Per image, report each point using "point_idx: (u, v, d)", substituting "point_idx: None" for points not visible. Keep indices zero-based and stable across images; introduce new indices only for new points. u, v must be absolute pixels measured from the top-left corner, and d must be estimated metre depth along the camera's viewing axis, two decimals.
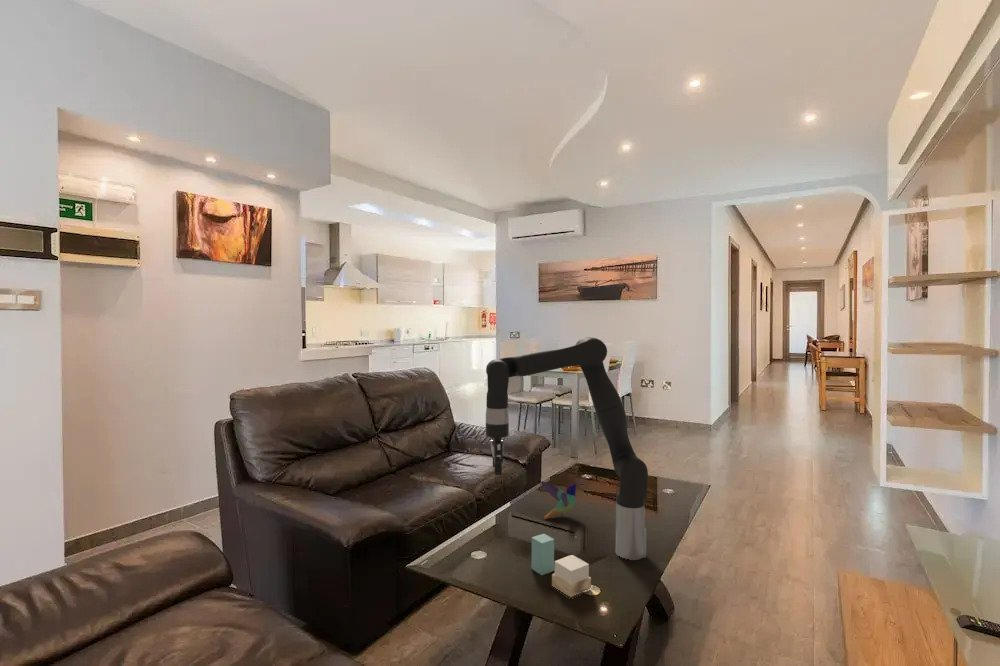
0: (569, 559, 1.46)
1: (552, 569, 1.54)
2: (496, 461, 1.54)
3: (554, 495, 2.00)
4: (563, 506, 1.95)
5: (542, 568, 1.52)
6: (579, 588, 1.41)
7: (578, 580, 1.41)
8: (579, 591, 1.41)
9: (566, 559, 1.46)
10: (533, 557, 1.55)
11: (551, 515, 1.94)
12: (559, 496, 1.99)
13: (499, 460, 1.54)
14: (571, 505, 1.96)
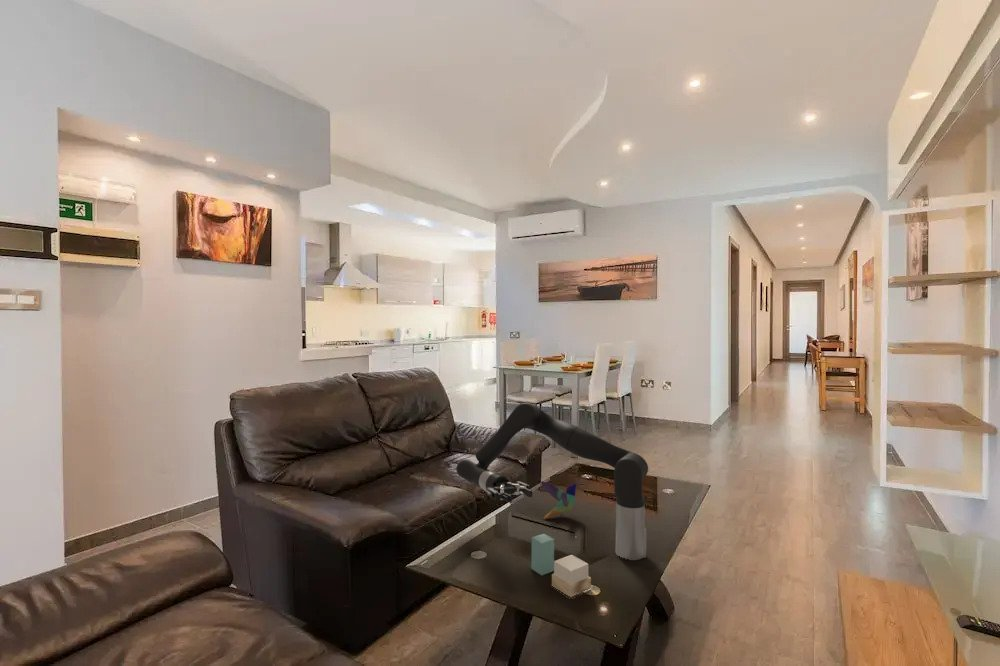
0: (569, 559, 1.46)
1: (552, 569, 1.54)
2: (495, 498, 1.64)
3: (554, 495, 2.00)
4: (563, 506, 1.95)
5: (542, 568, 1.52)
6: (579, 588, 1.41)
7: (578, 580, 1.41)
8: (579, 591, 1.41)
9: (566, 559, 1.46)
10: (533, 557, 1.55)
11: (551, 515, 1.94)
12: (559, 496, 1.99)
13: (494, 495, 1.64)
14: (571, 505, 1.96)
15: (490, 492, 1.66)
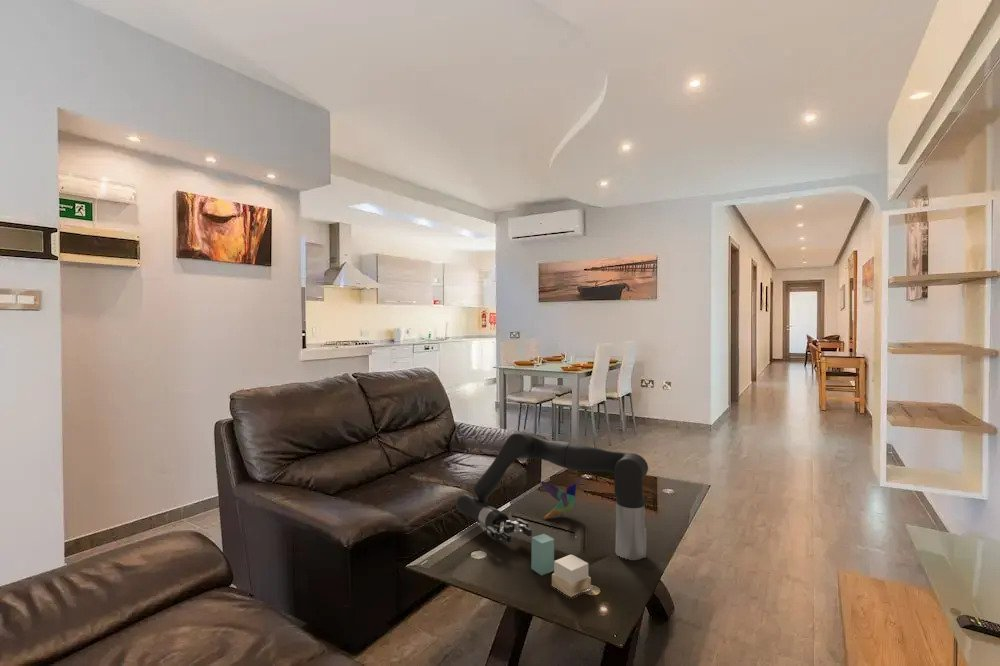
0: (569, 559, 1.46)
1: (552, 569, 1.54)
2: (494, 538, 1.64)
3: (554, 495, 2.00)
4: (563, 506, 1.95)
5: (542, 568, 1.52)
6: (579, 587, 1.41)
7: (578, 579, 1.41)
8: (579, 591, 1.41)
9: (566, 559, 1.46)
10: (533, 557, 1.55)
11: (551, 515, 1.94)
12: (559, 496, 1.99)
13: (494, 535, 1.64)
14: (571, 505, 1.96)
15: (489, 531, 1.67)
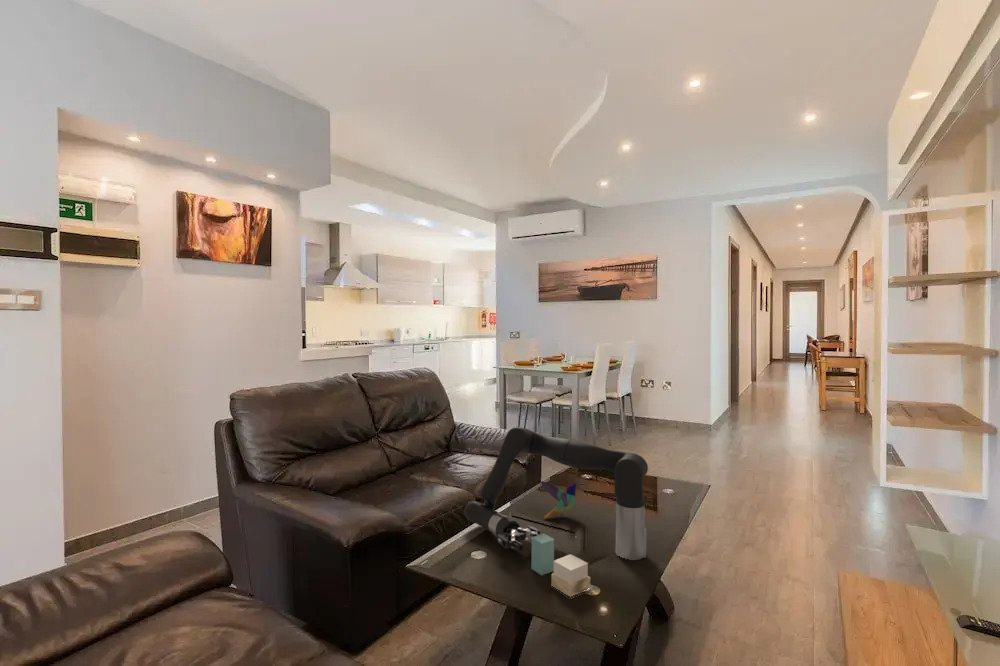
0: (568, 559, 1.46)
1: (552, 569, 1.54)
2: (506, 547, 1.59)
3: (554, 495, 2.00)
4: (563, 506, 1.95)
5: (542, 568, 1.52)
6: (579, 587, 1.41)
7: (577, 579, 1.41)
8: (579, 591, 1.41)
9: (565, 559, 1.46)
10: (533, 557, 1.55)
11: (551, 515, 1.94)
12: (559, 496, 1.99)
13: (505, 543, 1.59)
14: (571, 505, 1.96)
15: (501, 539, 1.62)
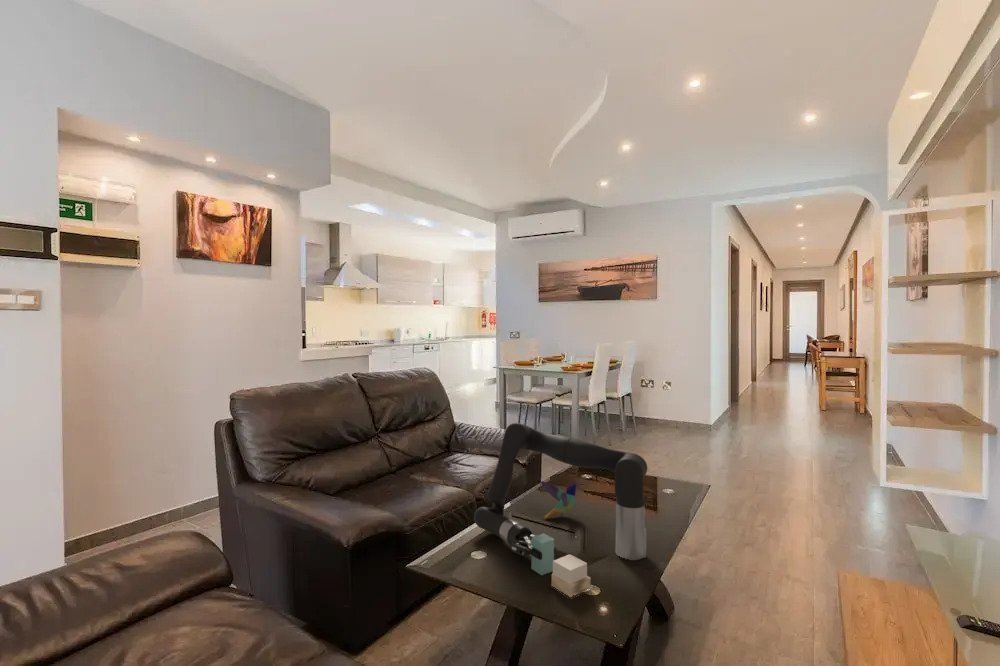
0: (567, 559, 1.46)
1: (552, 569, 1.54)
2: (524, 554, 1.54)
3: (554, 495, 2.00)
4: (563, 506, 1.95)
5: (542, 568, 1.52)
6: (579, 588, 1.41)
7: (577, 579, 1.41)
8: (579, 591, 1.41)
9: (564, 559, 1.46)
10: (533, 557, 1.55)
11: (551, 515, 1.94)
12: (559, 496, 1.99)
13: None
14: (571, 505, 1.96)
15: (516, 548, 1.55)
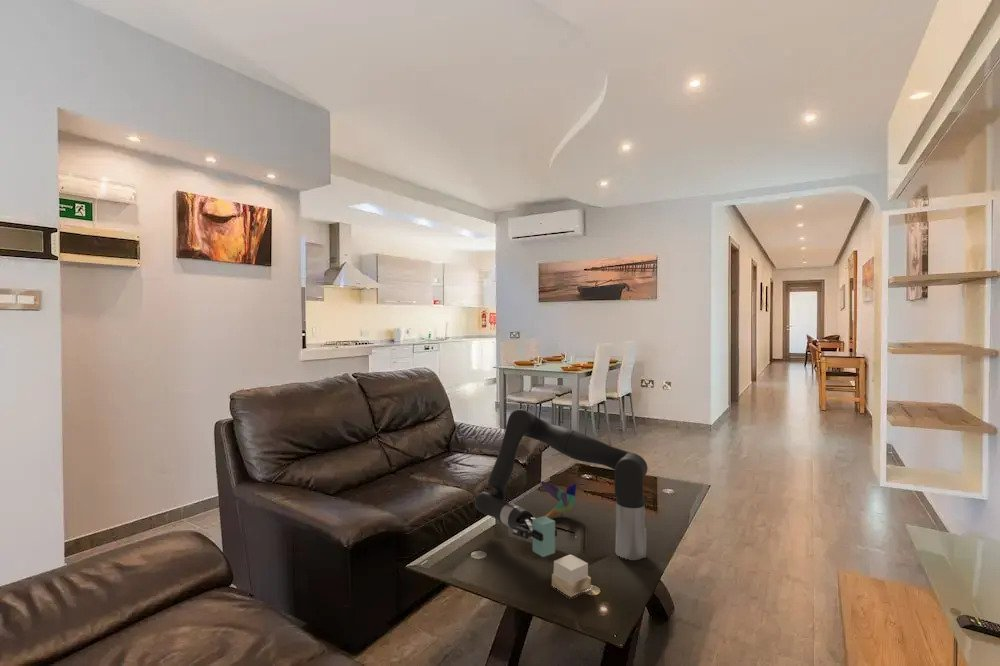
0: (568, 559, 1.46)
1: (553, 551, 1.54)
2: (525, 537, 1.53)
3: (554, 495, 2.00)
4: (563, 506, 1.95)
5: (543, 550, 1.51)
6: (579, 587, 1.41)
7: (578, 579, 1.41)
8: (579, 591, 1.41)
9: (565, 559, 1.46)
10: (534, 539, 1.54)
11: (551, 515, 1.94)
12: (559, 496, 1.99)
13: None
14: (571, 505, 1.96)
15: (517, 530, 1.55)
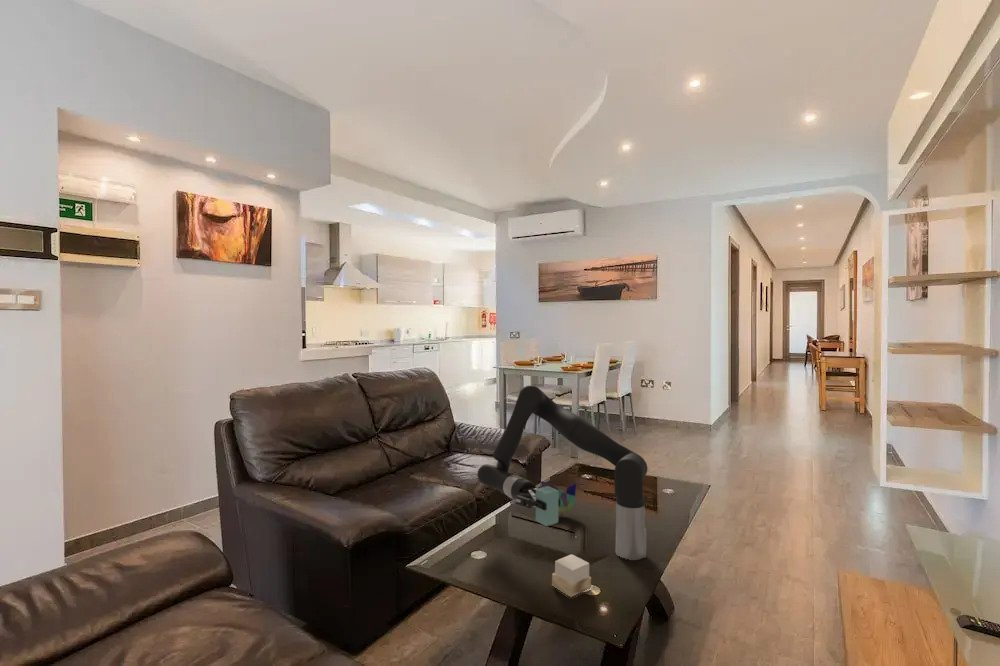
0: (570, 559, 1.46)
1: (556, 521, 1.52)
2: (528, 506, 1.52)
3: None
4: (563, 506, 1.95)
5: (546, 519, 1.50)
6: (579, 587, 1.41)
7: (579, 579, 1.41)
8: (579, 591, 1.41)
9: (567, 559, 1.46)
10: (537, 509, 1.53)
11: None
12: (559, 496, 1.99)
13: (527, 502, 1.52)
14: (571, 505, 1.96)
15: (521, 500, 1.54)
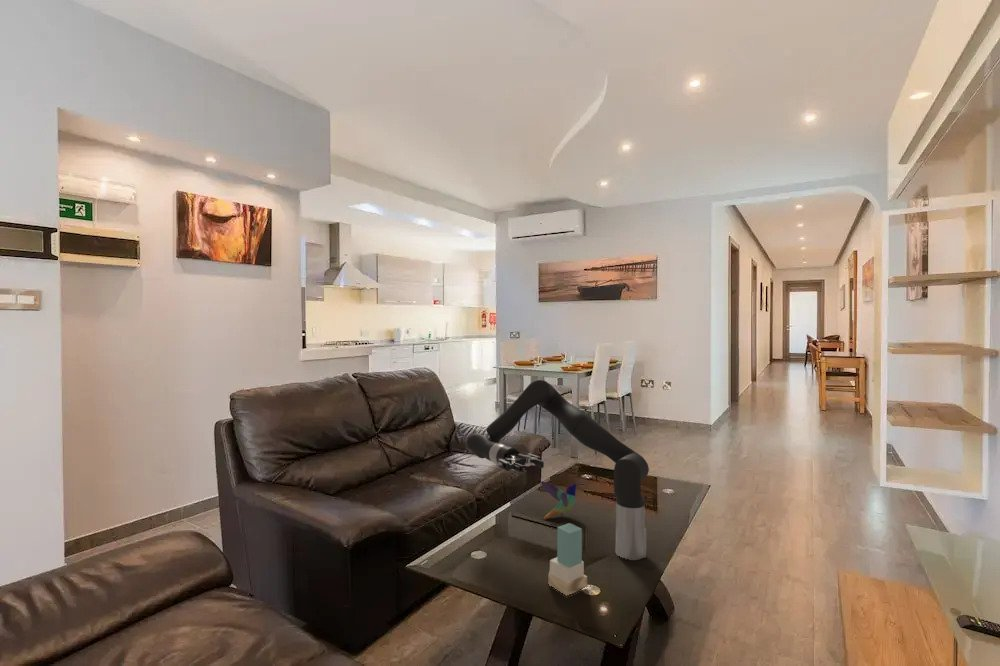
0: None
1: (580, 561, 1.44)
2: (506, 469, 1.62)
3: (554, 495, 2.00)
4: (563, 506, 1.95)
5: (569, 560, 1.41)
6: (575, 586, 1.42)
7: (574, 578, 1.42)
8: (575, 590, 1.42)
9: None
10: (559, 548, 1.44)
11: (551, 515, 1.94)
12: (559, 496, 1.99)
13: (506, 466, 1.63)
14: (571, 505, 1.96)
15: (501, 463, 1.65)
